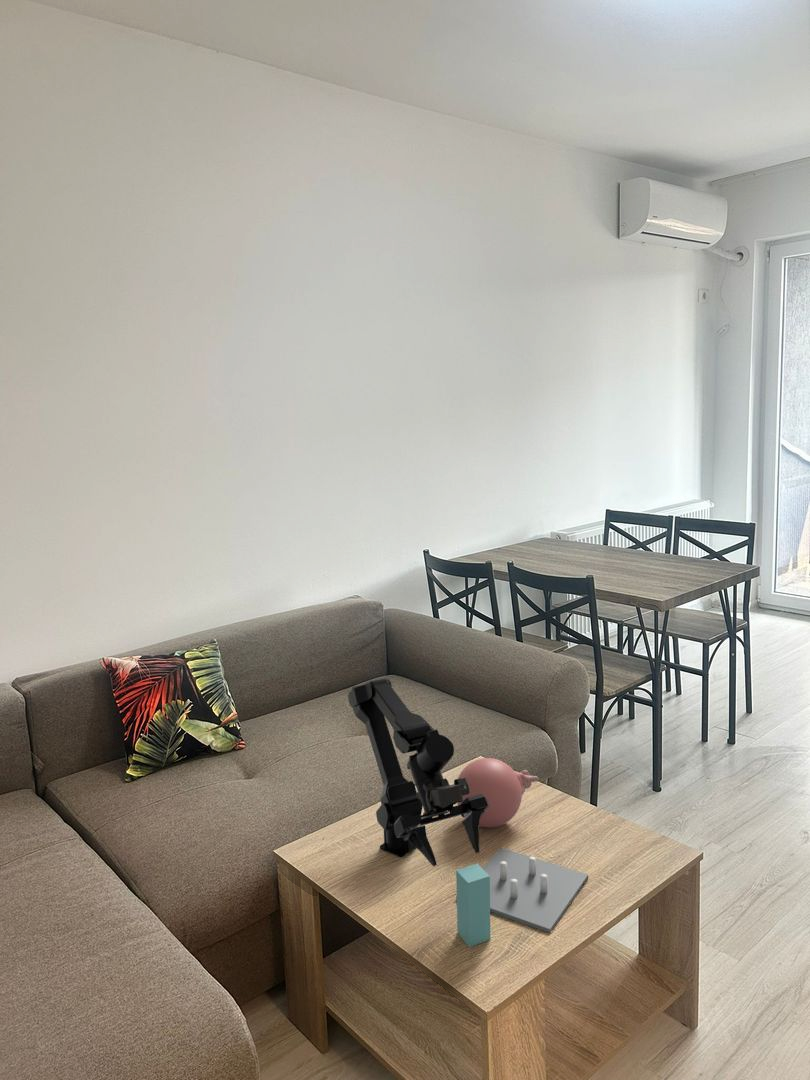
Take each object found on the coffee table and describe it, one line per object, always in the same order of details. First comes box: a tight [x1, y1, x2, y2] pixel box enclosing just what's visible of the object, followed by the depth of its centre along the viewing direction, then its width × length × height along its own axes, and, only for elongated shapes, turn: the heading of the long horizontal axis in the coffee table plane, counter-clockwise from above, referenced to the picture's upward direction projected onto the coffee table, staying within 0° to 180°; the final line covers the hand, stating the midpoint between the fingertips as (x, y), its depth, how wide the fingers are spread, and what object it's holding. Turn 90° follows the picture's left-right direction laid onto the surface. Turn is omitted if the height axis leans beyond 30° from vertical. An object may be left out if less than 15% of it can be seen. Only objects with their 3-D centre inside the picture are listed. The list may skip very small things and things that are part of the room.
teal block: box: [455, 863, 491, 948], centre depth 153 cm, size 4×4×13 cm
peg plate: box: [455, 847, 589, 934], centre depth 168 cm, size 20×20×4 cm
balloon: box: [456, 757, 540, 828], centre depth 192 cm, size 15×20×15 cm
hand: (456, 859), depth 158 cm, fingers open, 9 cm apart
